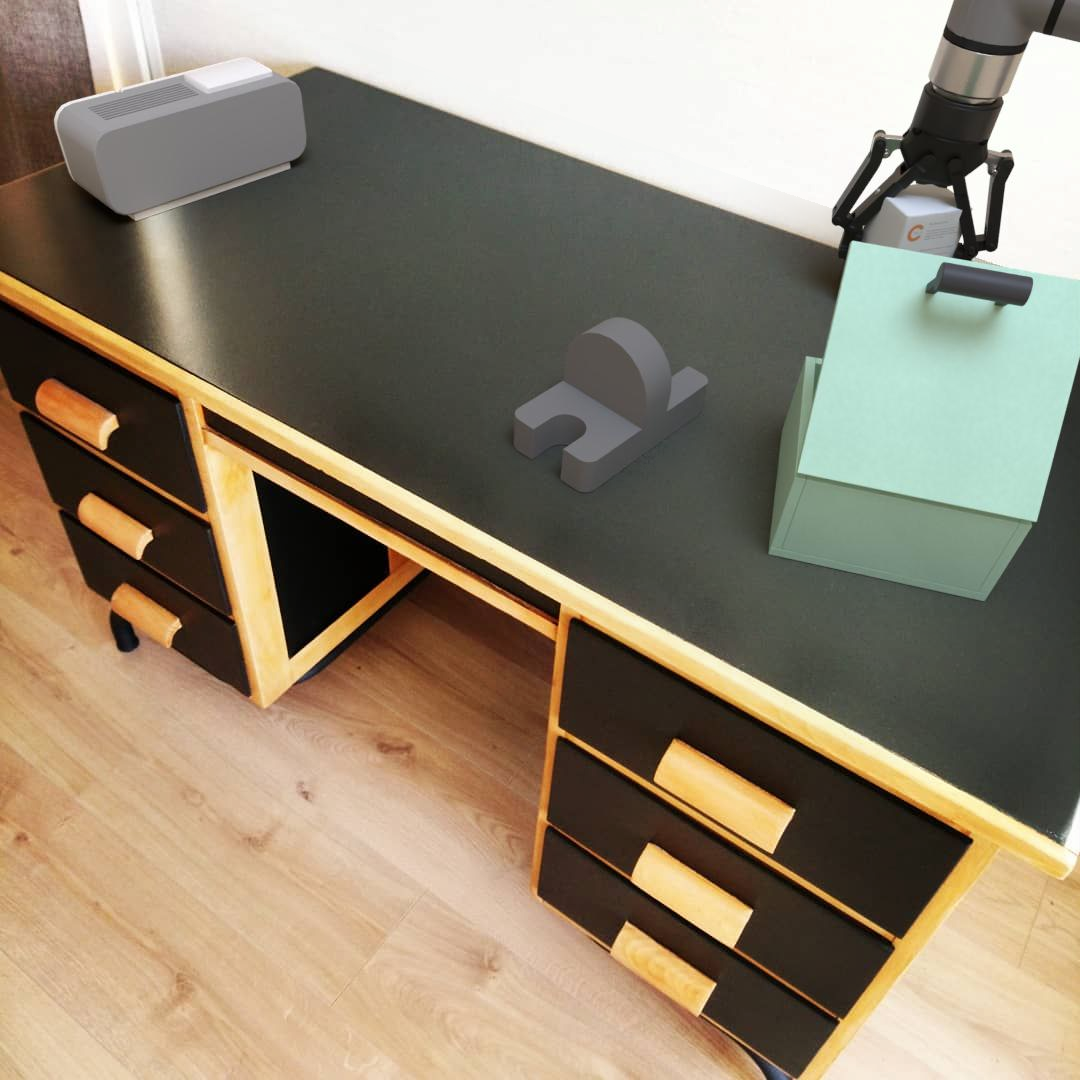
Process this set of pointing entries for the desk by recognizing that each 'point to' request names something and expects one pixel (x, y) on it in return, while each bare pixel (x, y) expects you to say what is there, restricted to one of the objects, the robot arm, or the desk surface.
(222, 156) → the alarm clock
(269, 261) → the desk surface
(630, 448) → the bracket
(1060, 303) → the lid
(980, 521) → the compartment
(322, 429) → the desk surface
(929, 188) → the small box
